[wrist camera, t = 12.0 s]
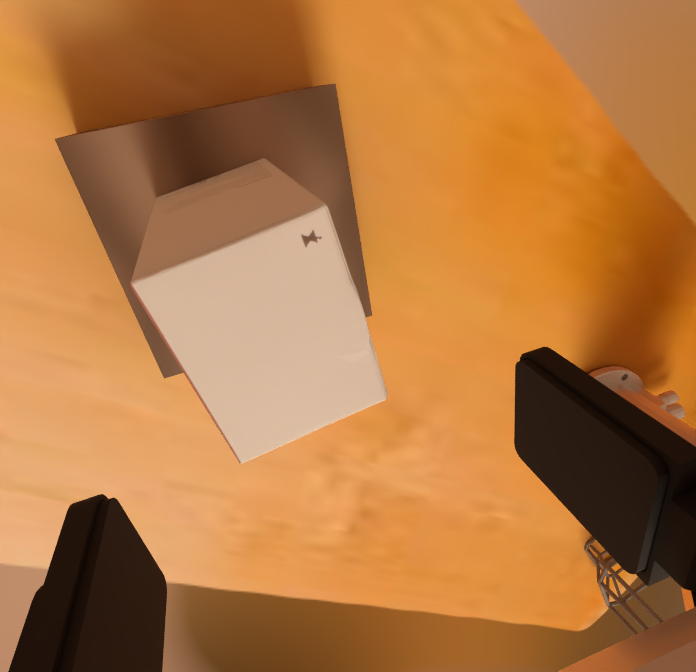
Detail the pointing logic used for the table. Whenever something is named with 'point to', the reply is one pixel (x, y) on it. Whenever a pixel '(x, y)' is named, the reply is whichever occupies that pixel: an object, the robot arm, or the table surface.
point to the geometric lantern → (618, 601)
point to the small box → (258, 306)
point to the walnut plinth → (211, 173)
